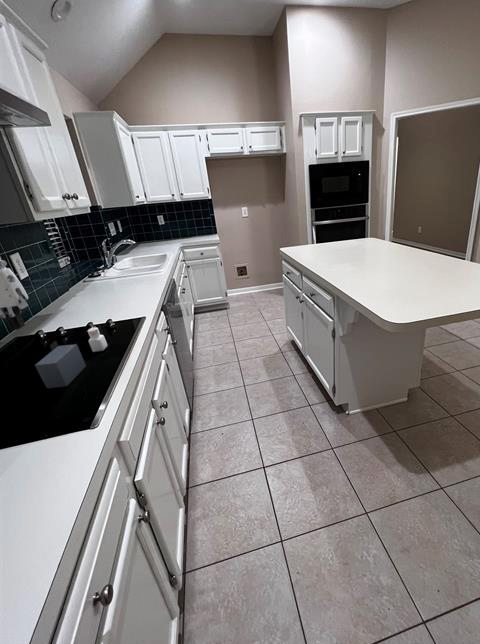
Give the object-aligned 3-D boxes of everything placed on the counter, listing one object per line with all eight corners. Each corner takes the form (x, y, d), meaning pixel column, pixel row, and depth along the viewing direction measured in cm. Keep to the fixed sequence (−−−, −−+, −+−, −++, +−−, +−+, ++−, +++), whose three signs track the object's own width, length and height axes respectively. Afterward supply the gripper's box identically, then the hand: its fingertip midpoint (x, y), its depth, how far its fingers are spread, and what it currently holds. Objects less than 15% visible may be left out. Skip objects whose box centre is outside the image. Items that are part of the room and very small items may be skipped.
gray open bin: (49, 392, 95) (34, 365, 91) (70, 371, 105) (58, 346, 100) (69, 390, 95) (55, 363, 91) (88, 370, 105) (76, 344, 101)
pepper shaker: (109, 349, 117) (100, 326, 113) (104, 354, 113) (95, 331, 109) (98, 350, 117) (89, 327, 113) (93, 355, 113) (83, 332, 109)
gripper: (24, 260, 87) (52, 319, 95) (-30, 266, 87) (3, 324, 95) (3, 268, 80) (35, 331, 88) (-56, 274, 80) (-18, 336, 88)
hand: (18, 327), depth 92 cm, fingers closed
